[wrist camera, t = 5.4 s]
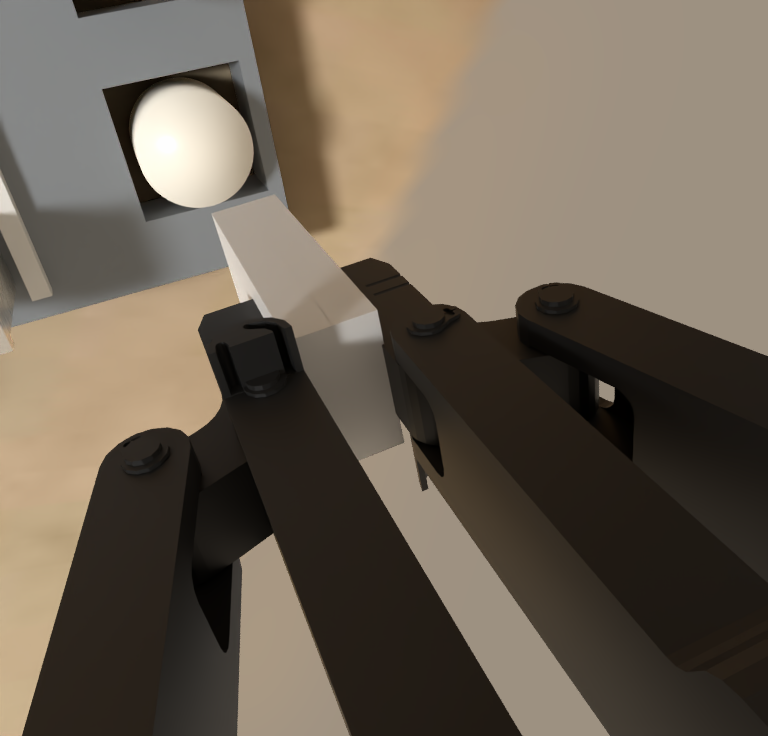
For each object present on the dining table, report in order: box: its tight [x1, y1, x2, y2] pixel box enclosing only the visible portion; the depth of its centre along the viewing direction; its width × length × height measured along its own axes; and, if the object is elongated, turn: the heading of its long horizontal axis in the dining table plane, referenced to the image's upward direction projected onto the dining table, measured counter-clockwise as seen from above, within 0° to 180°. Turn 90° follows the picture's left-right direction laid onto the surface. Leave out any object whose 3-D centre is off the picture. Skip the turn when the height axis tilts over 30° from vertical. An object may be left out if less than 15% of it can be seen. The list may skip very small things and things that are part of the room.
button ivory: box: [129, 77, 254, 208], centre depth 27 cm, size 4×4×3 cm
